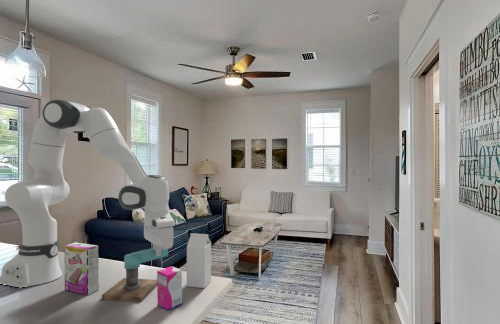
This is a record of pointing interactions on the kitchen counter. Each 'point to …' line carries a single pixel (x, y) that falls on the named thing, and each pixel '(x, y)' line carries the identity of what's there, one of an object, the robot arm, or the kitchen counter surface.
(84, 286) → the candy bar box
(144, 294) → the tan square panel
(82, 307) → the kitchen counter surface
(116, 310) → the kitchen counter surface
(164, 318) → the kitchen counter surface
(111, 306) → the kitchen counter surface
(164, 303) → the supplement box
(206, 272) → the milk carton
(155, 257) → the teal lever handle
